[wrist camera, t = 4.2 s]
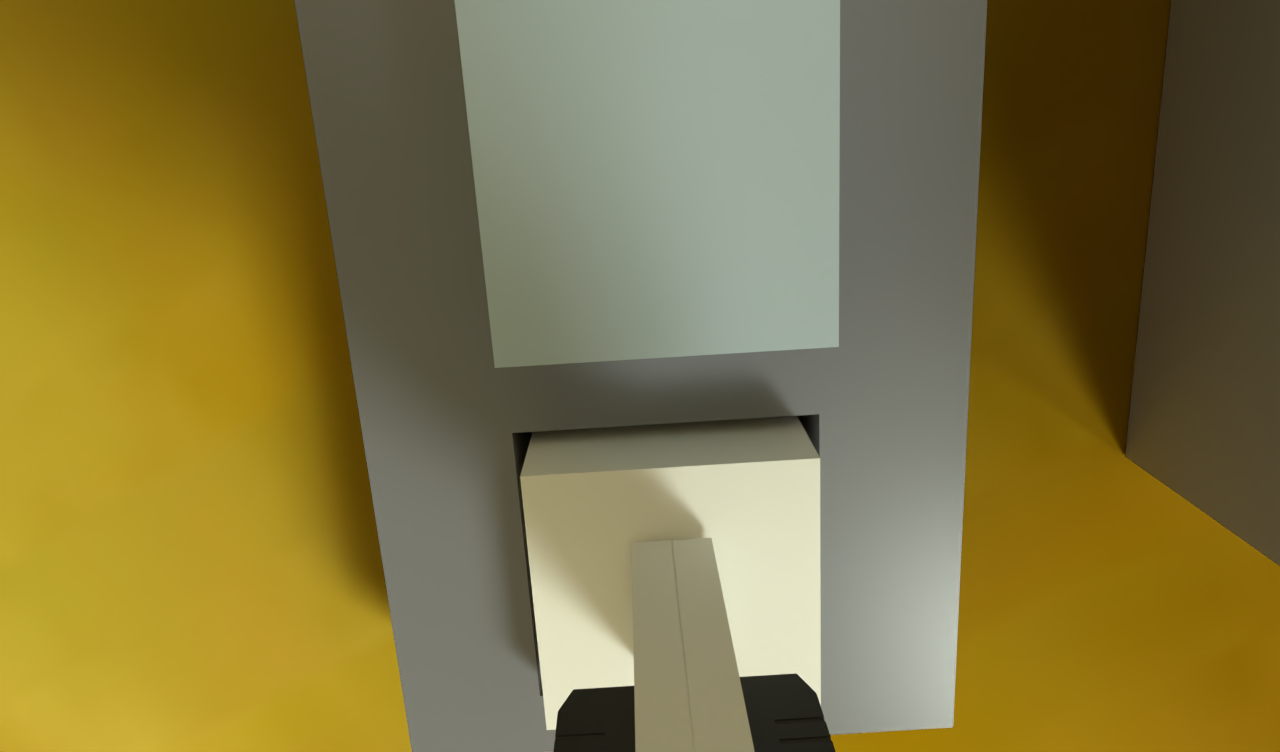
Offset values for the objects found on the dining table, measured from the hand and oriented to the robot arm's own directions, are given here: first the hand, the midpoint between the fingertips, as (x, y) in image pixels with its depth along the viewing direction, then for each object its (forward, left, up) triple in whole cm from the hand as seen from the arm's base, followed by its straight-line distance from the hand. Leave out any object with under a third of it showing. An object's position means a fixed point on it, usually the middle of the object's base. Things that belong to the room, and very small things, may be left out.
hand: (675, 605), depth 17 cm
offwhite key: (0, 0, -4) cm, 4 cm away
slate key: (+8, 0, -3) cm, 8 cm away
